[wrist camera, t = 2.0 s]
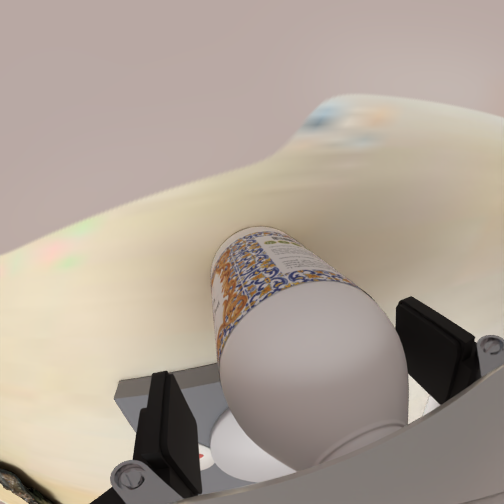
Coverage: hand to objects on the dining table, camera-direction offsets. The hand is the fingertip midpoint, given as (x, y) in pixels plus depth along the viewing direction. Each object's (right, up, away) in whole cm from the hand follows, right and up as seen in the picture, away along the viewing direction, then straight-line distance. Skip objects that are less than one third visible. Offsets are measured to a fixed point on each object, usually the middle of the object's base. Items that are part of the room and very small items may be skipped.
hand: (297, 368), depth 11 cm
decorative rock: (-42, -38, +16) cm, 59 cm away
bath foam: (-1, +3, +11) cm, 12 cm away
